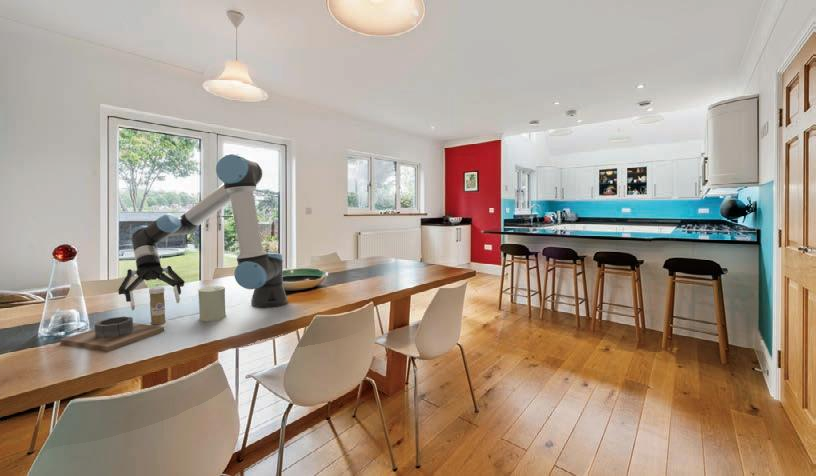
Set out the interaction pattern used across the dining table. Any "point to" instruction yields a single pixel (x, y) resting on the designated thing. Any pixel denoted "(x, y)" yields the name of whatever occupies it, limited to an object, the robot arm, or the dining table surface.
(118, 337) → the bottle holder
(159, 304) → the sprinkles bottle
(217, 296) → the can
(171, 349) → the dining table surface
